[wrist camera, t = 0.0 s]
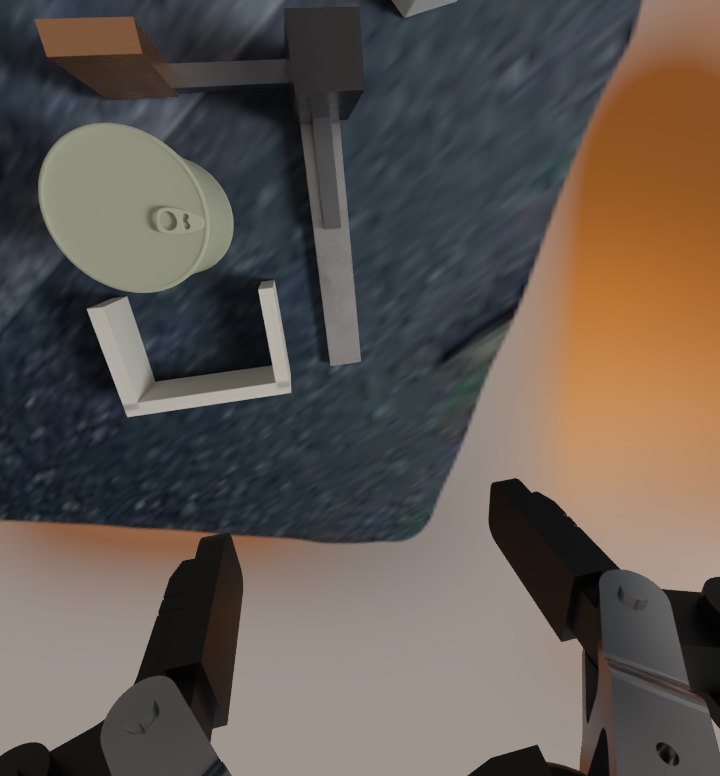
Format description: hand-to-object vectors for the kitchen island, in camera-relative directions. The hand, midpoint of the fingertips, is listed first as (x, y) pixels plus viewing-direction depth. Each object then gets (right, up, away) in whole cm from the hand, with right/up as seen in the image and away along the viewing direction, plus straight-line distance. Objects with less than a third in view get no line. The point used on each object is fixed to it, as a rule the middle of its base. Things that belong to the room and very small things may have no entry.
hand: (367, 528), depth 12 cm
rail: (-3, +19, +24) cm, 31 cm away
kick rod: (-10, +23, +19) cm, 32 cm away
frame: (-15, +10, +25) cm, 31 cm away
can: (-16, +19, +21) cm, 33 cm away
